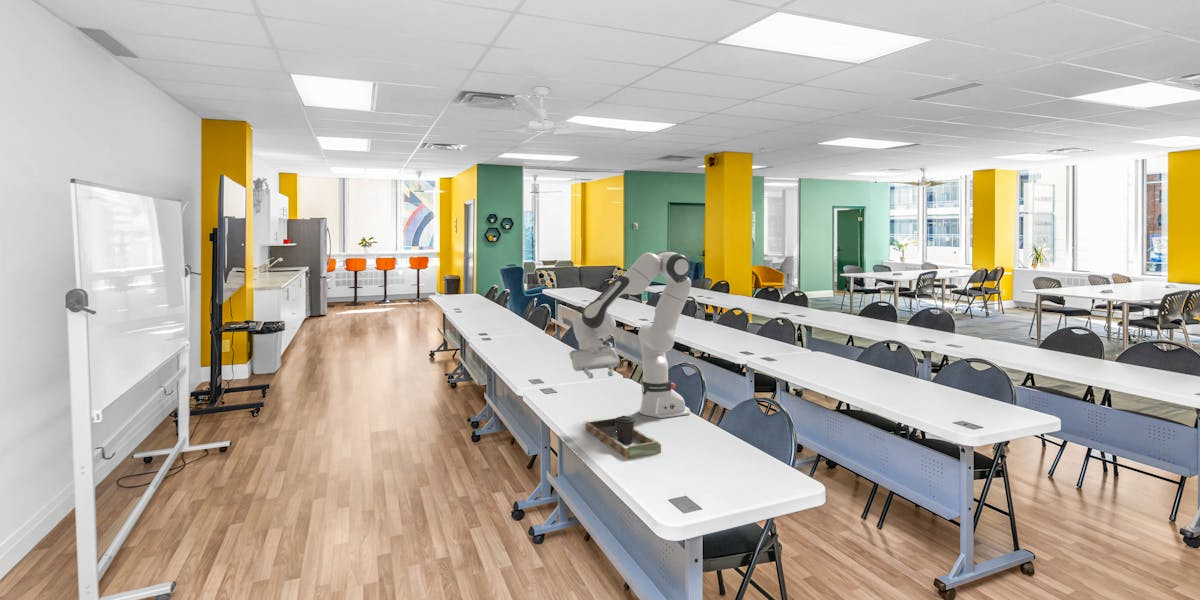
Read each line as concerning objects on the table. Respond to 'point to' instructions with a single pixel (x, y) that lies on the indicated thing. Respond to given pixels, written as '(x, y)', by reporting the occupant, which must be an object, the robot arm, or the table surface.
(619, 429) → the coffee cup
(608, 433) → the mats
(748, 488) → the table surface
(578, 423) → the table surface
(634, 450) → the trap box
